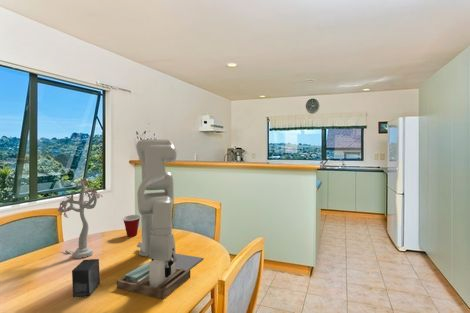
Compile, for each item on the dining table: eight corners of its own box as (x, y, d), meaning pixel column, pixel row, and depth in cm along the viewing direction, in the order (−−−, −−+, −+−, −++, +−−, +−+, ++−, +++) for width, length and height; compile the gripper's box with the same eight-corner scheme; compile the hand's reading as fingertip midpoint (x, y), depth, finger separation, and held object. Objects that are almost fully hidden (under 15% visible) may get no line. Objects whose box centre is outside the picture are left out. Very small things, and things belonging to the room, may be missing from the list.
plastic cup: (119, 238, 177) (118, 218, 176) (128, 232, 187) (128, 214, 187) (135, 238, 175) (135, 219, 174) (143, 233, 186) (143, 215, 185)
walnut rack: (116, 288, 114) (116, 280, 114) (148, 269, 132) (148, 262, 132) (163, 299, 106) (163, 291, 106) (190, 276, 123) (190, 270, 123)
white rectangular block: (149, 290, 112) (149, 262, 112) (167, 277, 123) (167, 251, 123) (158, 292, 111) (157, 263, 110) (175, 278, 122) (175, 253, 122)
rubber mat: (156, 266, 134) (156, 265, 134) (176, 254, 149) (176, 253, 149) (186, 272, 128) (186, 270, 128) (203, 259, 143) (203, 257, 143)
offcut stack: (124, 286, 116) (124, 275, 115) (148, 271, 129) (147, 261, 129) (138, 289, 113) (138, 278, 113) (160, 274, 126) (160, 264, 126)
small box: (84, 284, 118) (83, 259, 117) (100, 283, 118) (100, 258, 118) (71, 297, 107) (70, 270, 107) (89, 297, 108) (89, 269, 107)
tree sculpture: (38, 259, 143) (36, 179, 142) (78, 244, 165) (76, 175, 164) (81, 267, 134) (79, 181, 133) (117, 249, 156) (116, 176, 155)
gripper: (139, 231, 116) (140, 275, 117) (174, 235, 110) (175, 282, 110) (151, 226, 123) (152, 268, 124) (185, 230, 117) (185, 274, 117)
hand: (163, 274), depth 117 cm, fingers closed on white rectangular block, 4 cm apart
